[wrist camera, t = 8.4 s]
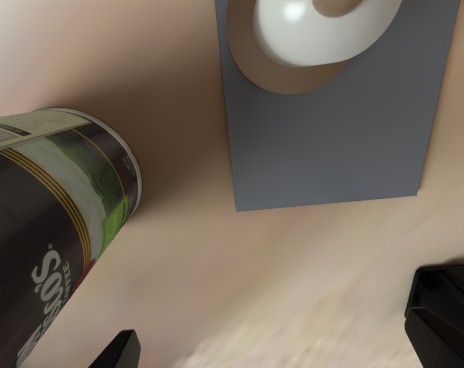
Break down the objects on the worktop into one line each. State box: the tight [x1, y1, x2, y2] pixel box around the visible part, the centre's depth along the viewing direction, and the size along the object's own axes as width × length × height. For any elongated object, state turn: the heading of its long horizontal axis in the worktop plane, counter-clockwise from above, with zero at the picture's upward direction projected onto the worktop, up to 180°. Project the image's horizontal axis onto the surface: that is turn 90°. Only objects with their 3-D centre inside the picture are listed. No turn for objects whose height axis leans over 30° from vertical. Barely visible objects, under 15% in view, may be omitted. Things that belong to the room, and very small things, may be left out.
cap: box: [253, 0, 402, 68], centre depth 10 cm, size 4×4×6 cm
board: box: [215, 0, 460, 212], centre depth 16 cm, size 16×14×1 cm
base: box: [226, 0, 350, 95], centre depth 13 cm, size 7×7×2 cm
